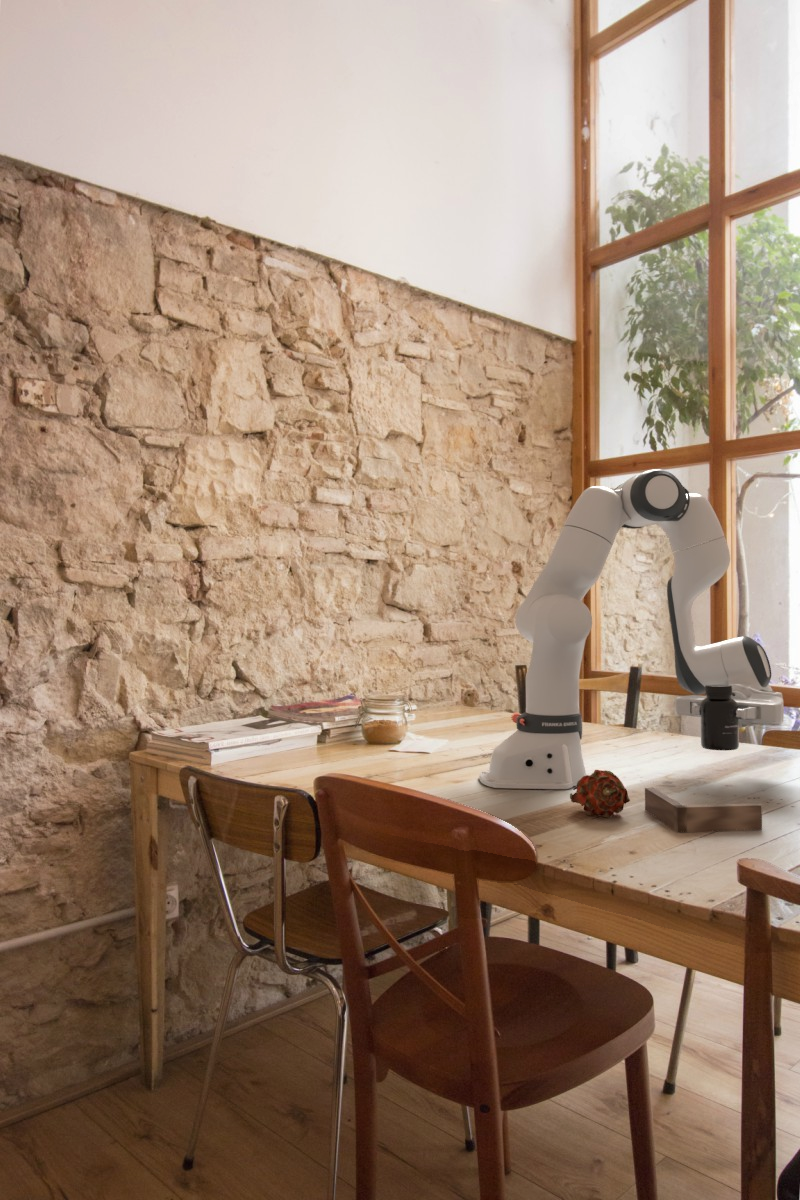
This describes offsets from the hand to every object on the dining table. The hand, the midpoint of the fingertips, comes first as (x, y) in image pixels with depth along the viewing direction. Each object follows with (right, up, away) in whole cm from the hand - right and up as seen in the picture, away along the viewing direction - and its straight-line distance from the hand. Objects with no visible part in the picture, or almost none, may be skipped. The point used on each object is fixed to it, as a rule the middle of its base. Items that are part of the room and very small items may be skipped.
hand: (717, 712), depth 163 cm
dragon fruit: (-25, -17, -12) cm, 33 cm away
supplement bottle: (+1, -7, +1) cm, 7 cm away
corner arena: (-9, -16, -17) cm, 25 cm away
